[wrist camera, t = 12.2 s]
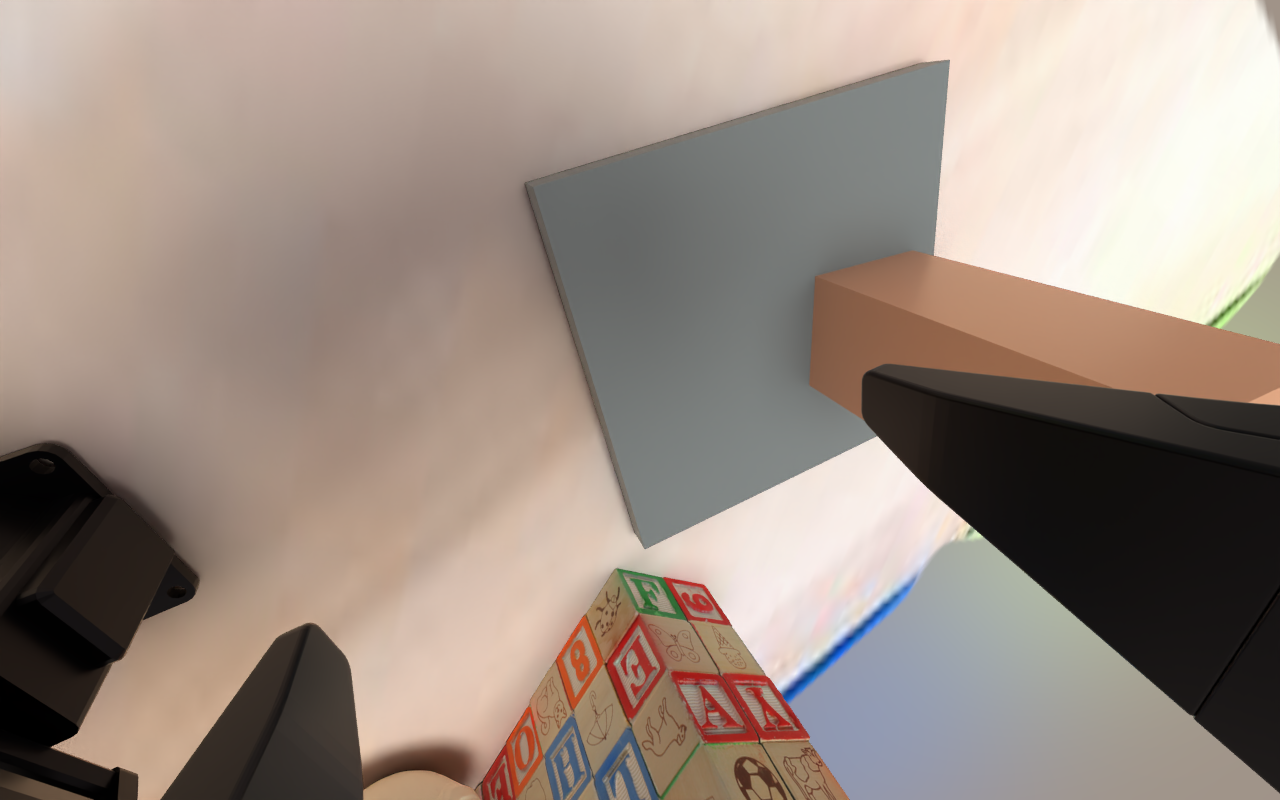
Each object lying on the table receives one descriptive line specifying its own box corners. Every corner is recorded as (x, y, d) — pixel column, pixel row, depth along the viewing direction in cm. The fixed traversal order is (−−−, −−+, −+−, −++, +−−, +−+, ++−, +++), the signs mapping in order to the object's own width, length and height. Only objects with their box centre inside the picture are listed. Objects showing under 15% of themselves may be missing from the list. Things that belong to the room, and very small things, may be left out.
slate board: (634, 532, 25) (644, 549, 24) (524, 183, 17) (533, 187, 16) (902, 404, 29) (920, 414, 28) (922, 62, 20) (949, 59, 19)
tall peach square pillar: (809, 385, 24) (1123, 586, 14) (815, 276, 21) (1205, 422, 11) (897, 355, 25) (1241, 518, 15) (912, 250, 23) (1339, 359, 13)
